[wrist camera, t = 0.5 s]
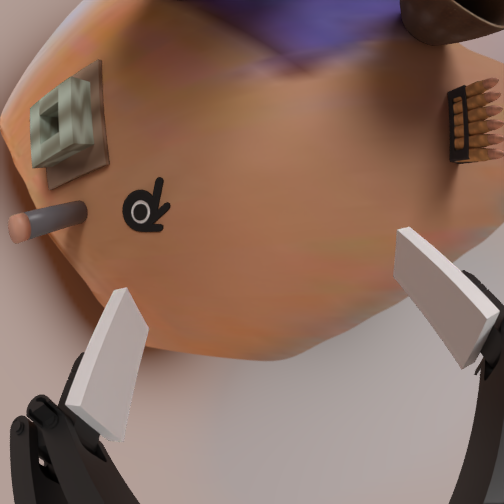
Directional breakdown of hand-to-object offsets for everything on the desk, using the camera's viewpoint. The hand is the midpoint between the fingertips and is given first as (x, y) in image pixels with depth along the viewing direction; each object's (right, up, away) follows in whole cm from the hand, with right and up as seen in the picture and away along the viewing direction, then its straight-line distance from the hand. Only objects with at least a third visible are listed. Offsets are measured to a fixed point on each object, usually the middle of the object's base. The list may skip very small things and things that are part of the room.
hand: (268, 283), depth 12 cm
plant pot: (+25, +35, +11) cm, 45 cm away
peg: (-31, +8, +29) cm, 43 cm away
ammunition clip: (+28, +19, +15) cm, 37 cm away
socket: (-33, +24, +25) cm, 47 cm away
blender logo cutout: (-14, +10, +26) cm, 31 cm away
